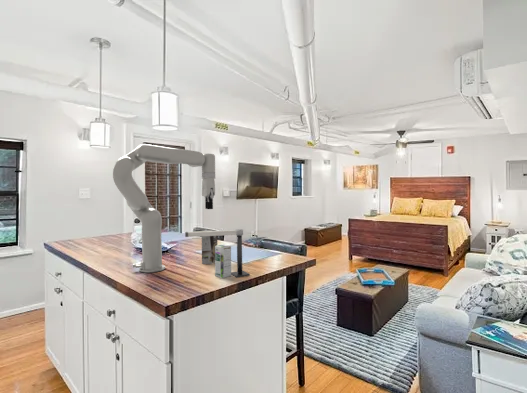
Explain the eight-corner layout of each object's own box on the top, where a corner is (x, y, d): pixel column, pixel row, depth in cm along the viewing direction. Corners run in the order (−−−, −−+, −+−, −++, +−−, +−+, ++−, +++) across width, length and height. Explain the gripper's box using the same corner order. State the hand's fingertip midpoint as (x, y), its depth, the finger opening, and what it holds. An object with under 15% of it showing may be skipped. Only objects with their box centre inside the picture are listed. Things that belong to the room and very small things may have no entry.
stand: (236, 277, 147) (235, 237, 146) (230, 274, 153) (229, 235, 152) (249, 275, 150) (249, 235, 150) (243, 272, 156) (242, 233, 156)
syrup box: (214, 276, 150) (214, 245, 150) (224, 273, 154) (224, 244, 154) (221, 278, 146) (221, 247, 146) (231, 275, 150) (231, 245, 150)
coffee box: (212, 264, 173) (212, 235, 172) (201, 263, 174) (201, 234, 174) (218, 260, 182) (217, 232, 181) (207, 260, 183) (207, 232, 182)
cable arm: (242, 234, 153) (242, 229, 153) (243, 235, 150) (243, 230, 149) (185, 236, 148) (185, 231, 148) (185, 237, 145) (185, 232, 145)
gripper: (197, 176, 182) (198, 208, 182) (206, 175, 167) (207, 210, 168) (210, 176, 185) (210, 207, 186) (220, 175, 171) (220, 209, 172)
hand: (209, 208), depth 177 cm, fingers closed
